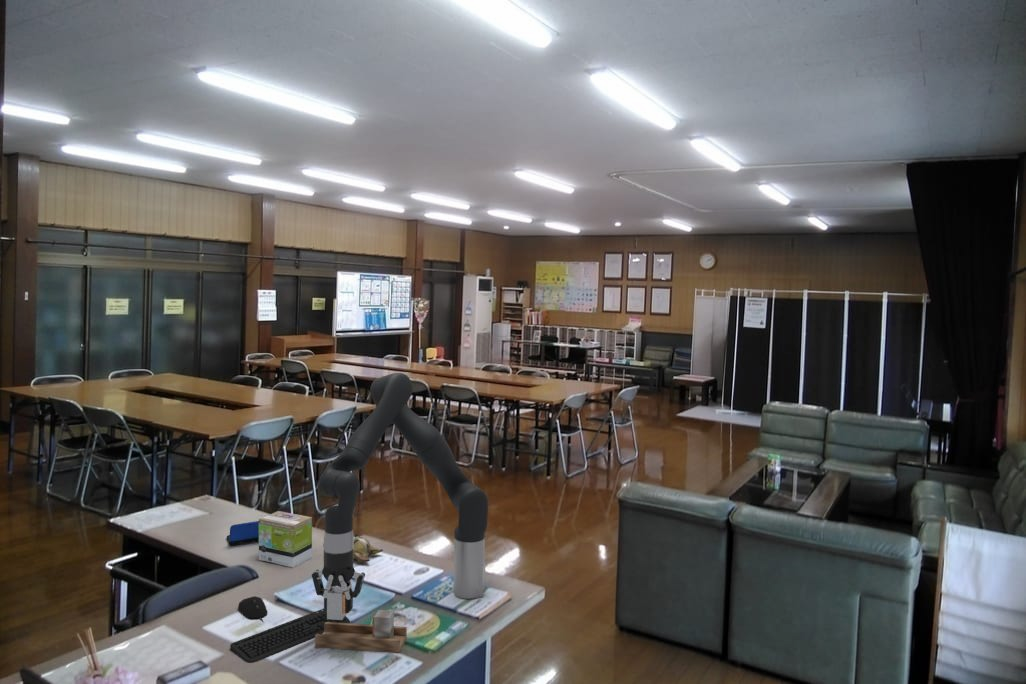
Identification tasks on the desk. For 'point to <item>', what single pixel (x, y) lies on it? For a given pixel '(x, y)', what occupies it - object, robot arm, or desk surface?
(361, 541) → the ceramic sculpture
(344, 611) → the gray metallic block
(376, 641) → the rail
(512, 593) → the desk surface
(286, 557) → the tea box
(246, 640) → the keyboard
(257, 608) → the gaming mouse
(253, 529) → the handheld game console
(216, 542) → the desk surface
